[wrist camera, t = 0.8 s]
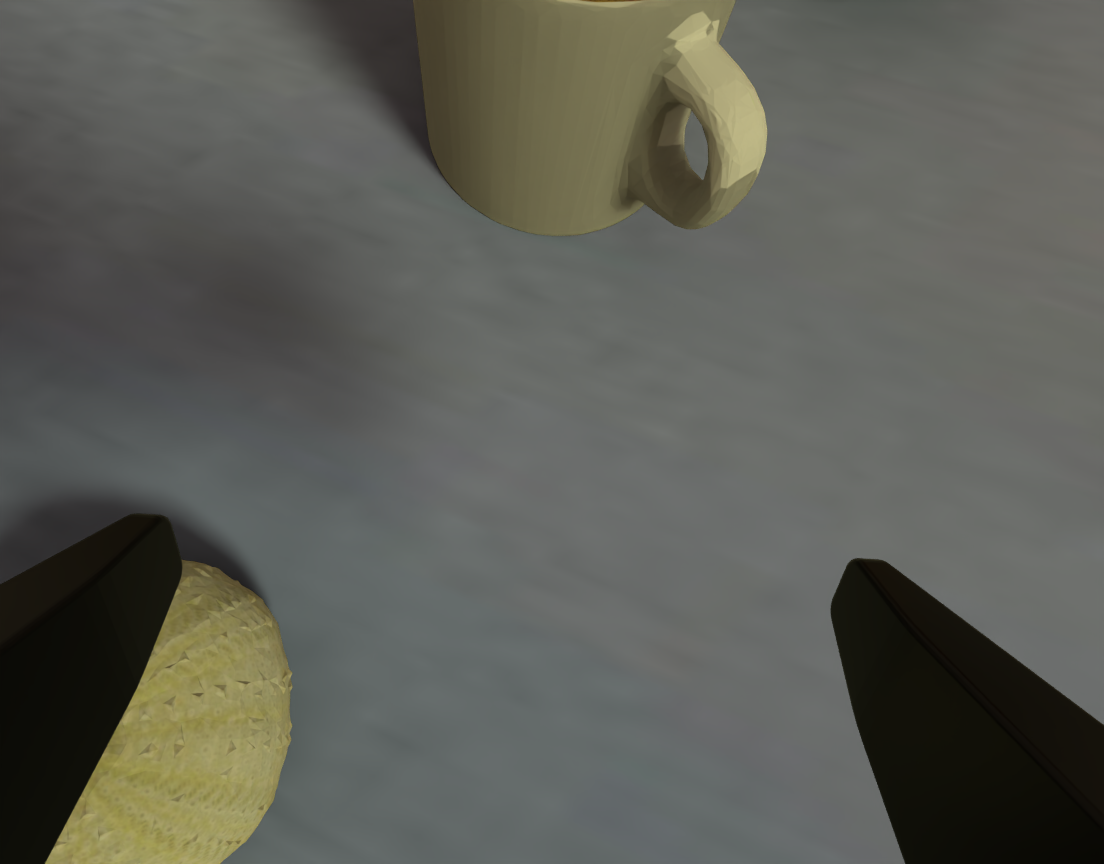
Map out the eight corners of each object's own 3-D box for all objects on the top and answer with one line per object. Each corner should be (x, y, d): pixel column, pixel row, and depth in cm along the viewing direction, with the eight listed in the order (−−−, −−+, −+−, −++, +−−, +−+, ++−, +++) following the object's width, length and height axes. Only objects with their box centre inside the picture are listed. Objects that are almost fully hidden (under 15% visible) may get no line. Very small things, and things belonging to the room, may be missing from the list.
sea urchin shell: (343, 561, 20) (199, 825, 13) (327, 732, 24) (208, 1008, 17) (36, 492, 20) (-282, 725, 13) (69, 676, 23) (-164, 935, 16)
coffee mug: (387, 71, 27) (335, -228, 18) (601, 3, 29) (659, -299, 20) (535, 351, 25) (567, 175, 15) (759, 254, 27) (915, 44, 17)
